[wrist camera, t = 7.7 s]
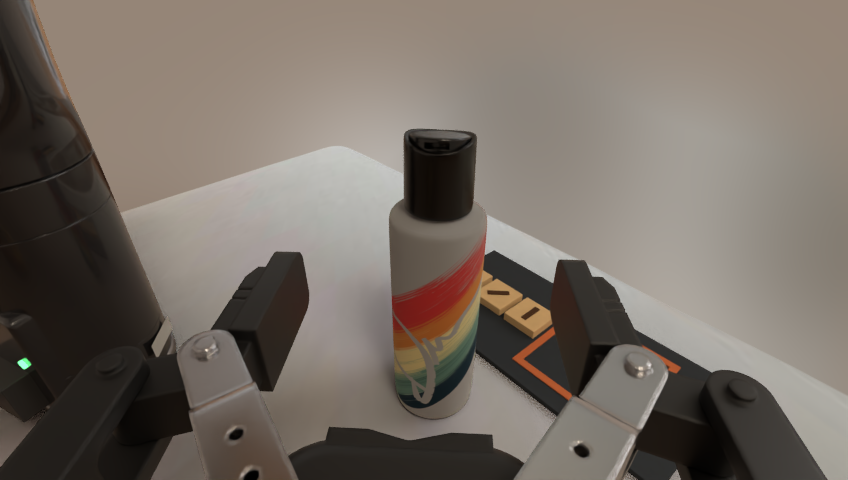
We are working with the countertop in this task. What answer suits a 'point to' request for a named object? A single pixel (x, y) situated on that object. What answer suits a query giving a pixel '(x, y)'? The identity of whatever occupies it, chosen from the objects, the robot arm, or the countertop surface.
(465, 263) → the lotion bottle
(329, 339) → the countertop surface
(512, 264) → the mat
